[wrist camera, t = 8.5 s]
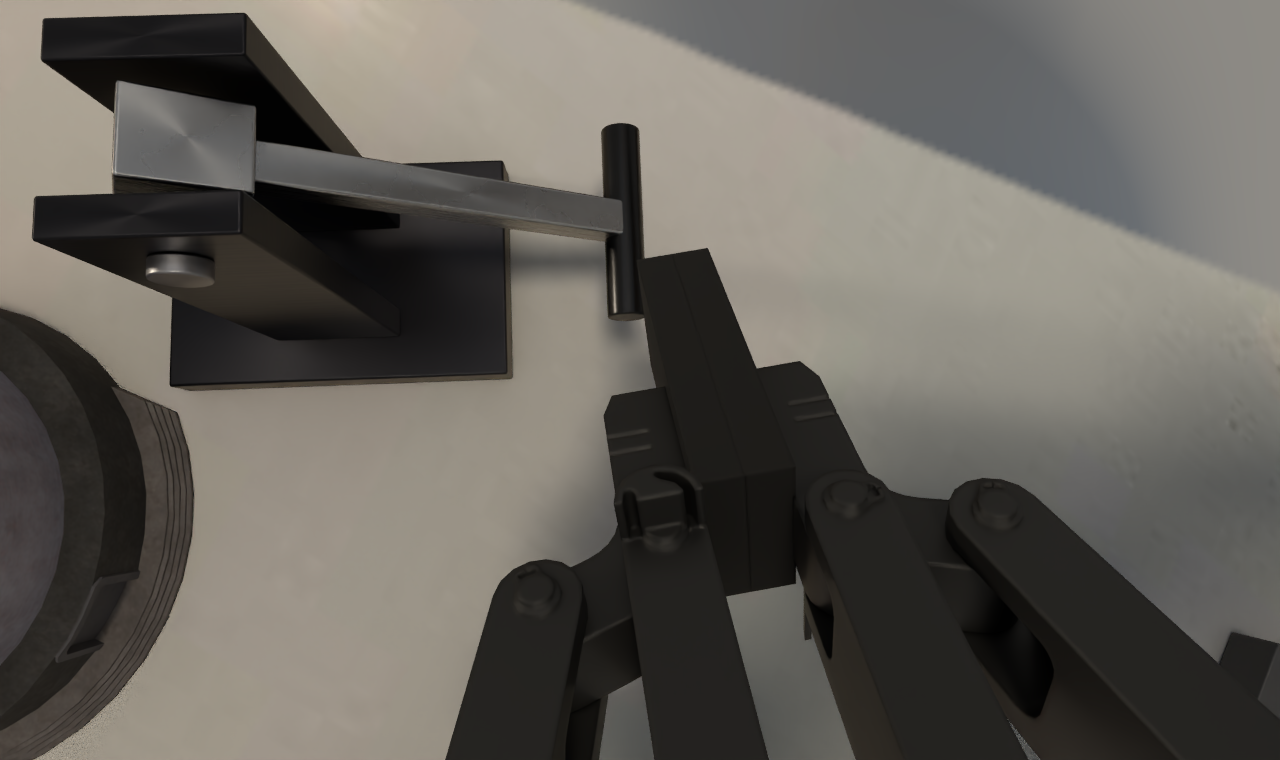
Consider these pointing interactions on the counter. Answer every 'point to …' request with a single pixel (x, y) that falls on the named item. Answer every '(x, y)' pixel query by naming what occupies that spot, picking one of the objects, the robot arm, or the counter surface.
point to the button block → (1255, 668)
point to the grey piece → (79, 534)
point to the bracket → (277, 234)
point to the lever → (371, 179)
